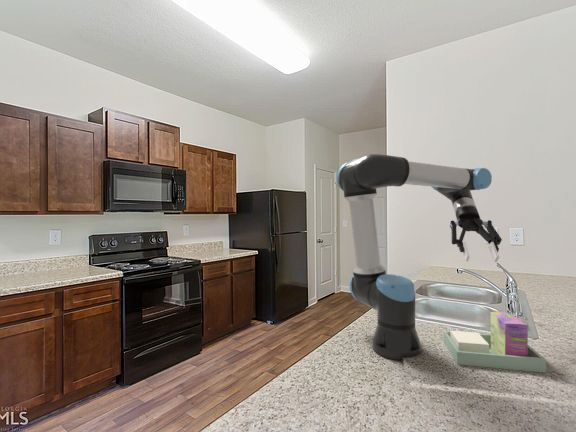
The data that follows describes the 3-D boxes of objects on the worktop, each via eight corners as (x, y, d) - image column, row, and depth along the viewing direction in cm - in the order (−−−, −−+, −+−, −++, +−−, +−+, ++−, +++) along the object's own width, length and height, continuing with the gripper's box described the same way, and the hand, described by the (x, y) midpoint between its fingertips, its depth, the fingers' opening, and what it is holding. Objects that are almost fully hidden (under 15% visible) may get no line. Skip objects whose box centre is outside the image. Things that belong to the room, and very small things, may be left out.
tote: (457, 367, 86) (457, 351, 86) (443, 344, 101) (443, 331, 101) (546, 376, 81) (546, 359, 81) (517, 350, 96) (517, 336, 96)
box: (528, 366, 84) (528, 324, 84) (505, 364, 85) (504, 322, 85) (511, 350, 94) (510, 312, 94) (490, 348, 95) (489, 311, 95)
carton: (458, 359, 89) (458, 342, 89) (450, 346, 98) (450, 330, 98) (489, 361, 87) (489, 344, 87) (478, 348, 96) (477, 332, 96)
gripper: (493, 218, 117) (514, 266, 102) (435, 218, 122) (446, 264, 107) (499, 204, 112) (521, 252, 97) (438, 205, 117) (450, 251, 102)
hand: (482, 259), depth 102 cm, fingers open, 8 cm apart
